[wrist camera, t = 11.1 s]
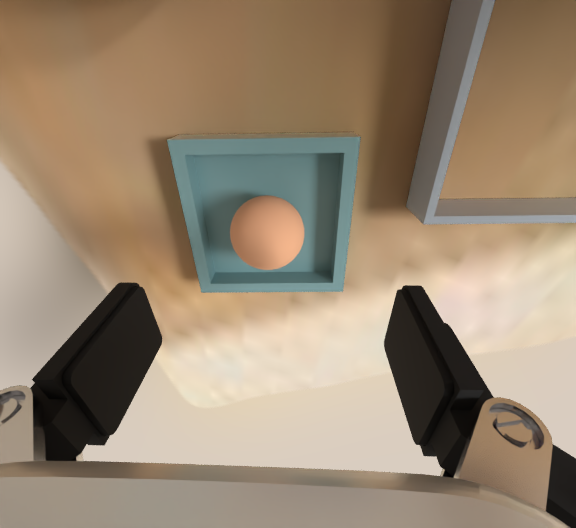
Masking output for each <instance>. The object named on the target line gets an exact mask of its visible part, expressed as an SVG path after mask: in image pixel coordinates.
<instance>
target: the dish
mask: <svg viewBox="0 0 576 528" xmlns="http://www.w3.org/2000/svg"><path fill="white" fill-rule="evenodd" d="M360 138H361V137H360V136H359V135H357V134H356V133H354V132H309V133H242V134H180V135H177V136H175V137H172V138H170V139H168V140H167V143H168V147H169V151H170V156H171V160H172V165H173V169H174V173H175V178H176V182H177V187H178V191H179V195H180V200H181V204H182V209H183V213H184V217H185V222H186V226H187V230H188V235H189V239H190V244H191V248H192V252H193V257H194V261H195V266H196V270H197V274H198V279H199V283H200V288H201V292H202V293H206V292H340V291H343V286H344V278H345V269H346V260H347V252H348V243H349V234H350V225H351V217H352V208H353V199H354V191H355V182H356V173H357V164H358V156H359V147H360ZM265 195H269V196H276V197H279V198H282V199H284V200H286V201H287V202H289V203H290V204H291V205H293V206H294V207H295V209H296V210H297V211H298V213H299V214H300V216H301V218H302V221H303V225H304V241H303V245H302V247H301V250H300V252H299V253H298V255H297V256H296V257H295V258H294V259H293V260H292V261H291V262H290V263H288V264H287V265H285V266H283V267H281V268H278V269H273V270H262V269H257V268H254V267H252V266H250V265H248V264H247V263H245V262H244V261H243V260H242V259H241V258H240V257H239V256H238V255H237V253H236V252H235V250H234V248H233V246H232V243H231V238H230V226H231V222H232V219H233V217H234V215H235V213H236V211H237V210H238V209H239V208H240V206H242V205H243V204H244V203H245V202H247V201H248V200H250V199H252V198H255V197H258V196H265Z"/></svg>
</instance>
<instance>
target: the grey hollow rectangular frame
mask: <svg viewBox="0 0 576 528" xmlns="http://www.w3.org/2000/svg"><path fill="white" fill-rule="evenodd" d="M494 3H495V0H452V1H451V6H450V10H449V15H448V19H447V24H446V28H445V33H444V37H443V42H442V46H441V51H440V55H439V60H438V64H437V69H436V73H435V78H434V83H433V87H432V92H431V96H430V101H429V105H428V110H427V114H426V119H425V123H424V128H423V132H422V137H421V141H420V146H419V150H418V155H417V159H416V164H415V168H414V173H413V177H412V182H411V186H410V191H409V195H408V200H407V204H406V207H407V208H408V209H409V210H410V211H411V212H412V213H413V214H414V215H415V216H416V217H417V218H418V219H419V220H420V221H421V222H422V223H423V224H502V223H576V198H501V199H439V197H440V193H441V190H442V186H443V183H444V179H445V176H446V172H447V168H448V165H449V161H450V158H451V154H452V151H453V147H454V144H455V140H456V137H457V133H458V130H459V126H460V123H461V119H462V116H463V112H464V108H465V105H466V101H467V98H468V94H469V91H470V87H471V84H472V80H473V77H474V73H475V70H476V66H477V63H478V59H479V56H480V52H481V49H482V45H483V41H484V38H485V34H486V31H487V27H488V24H489V20H490V17H491V13H492V10H493V6H494Z"/></svg>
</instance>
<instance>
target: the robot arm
mask: <svg viewBox="0 0 576 528" xmlns="http://www.w3.org/2000/svg"><path fill="white" fill-rule="evenodd" d="M161 344H162V335H161V333H160V330H159V327H158V325H157V322H156V320H155V317H154V314H153V312H152V309H151V306H150V304H149V301H148V299H147V296H146V293H145V291H144V289H143V288H142V287H140V286H139V284H137V283H119V284H117V285H116V286H115V287H114V289H113V290H112V291H111V292H110V293H109V294H108V295H107V296H106V298H105V299H104V300H103V301H102V302H101V303H100V304H99V305H98V306H97V307H96V309H95V310H94V311H93V312H92V313H91V314H90V315H89V316H88V318H87V319H86V320H85V321H84V322H83V323H82V324H81V326H79V328H78V329H77V330H76V331H75V332H74V333H73V334H72V335H71V337H70V338H69V339H68V340H67V341H66V342H65V343H64V344H63V345H62V347H61V348H60V349H59V350H58V351H57V352H56V353H55V355H53V357H52V358H51V359H50V360H49V361H48V362H47V363H46V364H45V366H44V367H43V368H42V369H41V370H40V371H39V372H38V373H37V375H36V376H35V377H34V378H33V379H32V380H33V381H34V382H35V384H34V385H33V386H32V387H31V388H28V387H27V386H20V385H19V386H13V387H9V388H6V389H3V390H0V528H576V459H575V458H574V457H572V456H571V455H569V454H567V453H566V452H564V451H563V450H561V449H560V448H558V447H556V446H555V445H553V444H552V438H551V435H550V433H549V431H548V429H547V428H546V426H545V425H544V424H543V422H542V421H541V420H540V419H539V418H538V417H537V416H536V415H535V414H534V413H533V412H531V411H530V410H529V409H527V408H526V407H524V406H523V405H521V404H519V403H517V402H514V401H512V400H510V399H505V398H494V397H493V396H492V394H491V392H490V391H489V389H488V388H487V386H486V384H485V383H484V381H483V379H482V378H481V377H480V375H479V373H478V371H477V370H476V368H475V366H474V365H473V363H472V361H471V360H470V358H469V356H468V355H467V353H466V352H465V350H464V348H463V347H462V345H461V343H460V342H459V340H458V338H457V337H456V335H455V334H454V332H453V330H452V329H451V327H450V326H449V325H448V324H446V323H444V322H443V321H442V319H441V317H440V316H439V314H438V312H437V310H436V309H435V307H434V305H433V304H432V302H431V300H430V299H429V297H428V295H427V294H426V292H425V290H424V289H423V287H422V286H403V288H402V290H398V291H397V293H396V297H395V301H394V305H393V309H392V313H391V317H390V321H389V324H388V328H387V332H386V336H385V340H384V347H385V352H386V355H387V358H388V361H389V364H390V368H391V371H392V374H393V377H394V380H395V383H396V386H397V390H398V393H399V396H400V399H401V402H402V405H403V408H404V412H405V415H406V418H407V421H408V424H409V428H410V431H411V434H412V437H413V440H414V442H415V444H416V445H420V446H421V449H422V452H423V455H424V456H437V459H438V462H439V465H440V466H441V467H442V468H443V469H442V472H441V475H440V476H432V475H424V474H407V473H390V472H374V471H353V470H329V469H304V468H279V467H278V468H277V467H251V466H250V467H249V466H224V465H195V464H165V463H130V462H99V461H83V454H82V451H83V449H84V447H85V446H86V444H88V445H105V443H106V442H107V440H108V438H109V436H110V435H112V434H114V433H115V431H116V430H117V428H118V426H119V425H120V423H121V420H122V419H123V417H124V415H125V413H126V411H127V409H128V407H129V405H130V404H131V402H132V400H133V398H134V396H135V394H136V392H137V390H138V388H139V386H140V385H141V383H142V381H143V379H144V377H145V375H146V373H147V371H148V369H149V367H150V365H151V364H152V362H153V360H154V358H155V356H156V354H157V352H158V350H159V348H160V346H161Z"/></svg>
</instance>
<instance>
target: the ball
mask: <svg viewBox="0 0 576 528" xmlns="http://www.w3.org/2000/svg"><path fill="white" fill-rule="evenodd" d="M230 238H231V243H232V246H233V248H234V250H235V252H236V253H237V255H238V256H239V257H240V258H241V259H242V260H243V261H244V262H245V263H247V264H248V265H250V266H252V267H254V268H257V269H262V270H273V269H278V268H281V267H283V266H285V265H287V264H288V263H290V262H291V261H292V260H293V259H294V258H295V257H296V256H297V255H298V253H299V252H300V250H301V247H302V245H303V241H304V225H303V221H302V218H301V216H300V214H299V213H298V211H297V210H296V209H295V207H294V206H293V205H291V204H290V203H289V202H287V201H286V200H284V199H282V198H279V197H276V196H269V195H265V196H258V197H255V198H252V199H250V200H248V201H247V202H245V203H244V204H243V205H242V206H240V208H239V209H238V210H237V211H236V213H235V215H234V217H233V219H232V222H231V226H230Z"/></svg>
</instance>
